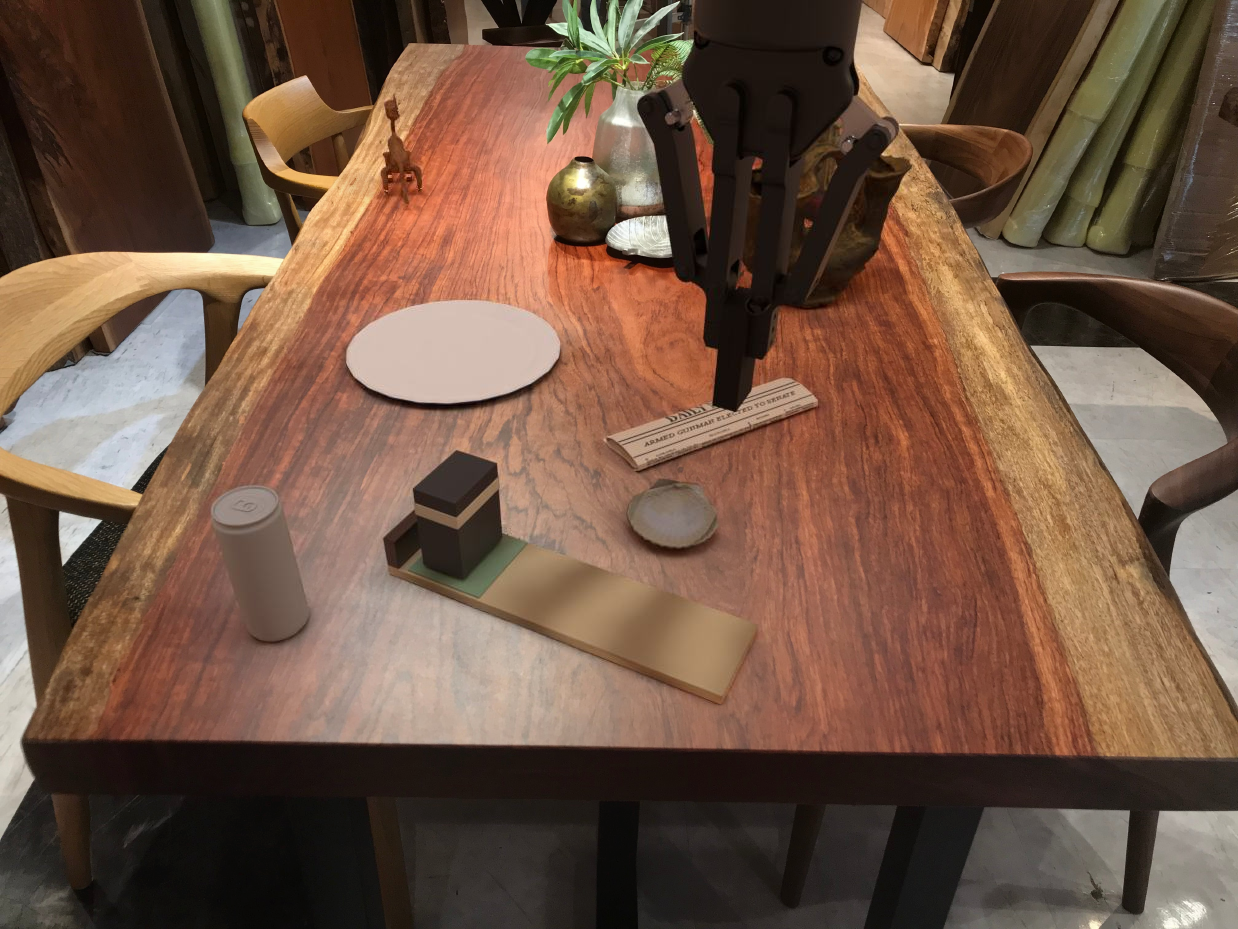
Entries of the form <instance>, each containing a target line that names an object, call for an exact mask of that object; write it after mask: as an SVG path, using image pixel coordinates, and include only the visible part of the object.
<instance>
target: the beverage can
mask: <svg viewBox="0 0 1238 929" xmlns="http://www.w3.org/2000/svg"><path fill="white" fill-rule="evenodd" d="M210 515H211V525H212V528H213V531H214V535H215V538H216V540H217V544H218V547H219V550H220V553H221V557H222V559H223V560H222V561H223V563H224V565H225V569H226V572H227V574H228V578H229V580H230V583H231V587H232V590H233V592H234V596H235V599H236V601H237V604H238V608H239V610H240V613H241V617H242V619H243V622H244V624H245V628H246V629H247V632H248V633H249V634H250V635H251V636H252V637H254V638H256V639H257V640H258V641H259V640H260V641H264V642H279V641H280V642H281V641H283V640H284V641H285V640H287V639H289V638H291V637H293V636H294V635H296V634H297V633H298V632H300V631H301V629H303V628H304V626H305V625H306V623H307V622H308V619H309V615H310V609H309V608H310V607H309V603H308V601H307V600H308V599H307V596H306V592H305V588H304V585H303V581H302V577H301V572H300V569H299V568H300V567H299V565H298V564H299V563H298V561H297V558H296V553H295V549H294V546H293V542H292V537H291V534H290V529H289V526H288V521H287V518H286V514H285V510H284V506H283V503H282V501H281V500H280V498H279V496H278V494H277V492H276V491H275V490H273V489H272V488H270V487H267V486H265V485H257V484H255V485H254V484H252V485H250V484H249V485H244V486H238V487H235V488H232V489H230V490H228V491H225V492H224V493H222V494H221V495H220V496H219V497H217V498H216V499H215V501H214V502H213V504H212V505H211V508H210Z"/></svg>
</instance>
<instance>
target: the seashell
mask: <svg viewBox="0 0 1238 929" xmlns="http://www.w3.org/2000/svg"><path fill="white" fill-rule="evenodd" d="M626 517H627V518H626V519H627V521H628V523H629V525H630V527H631V528H632V529H633V531H634V532H635V533H637V535H638V537H640V538H643V540H644V541H646V542H651V544H652V545H659V547H661V548H665V547H666V548H668V549H674V548H675V549H677V550H681V549H682V548H683V549H689V548H691V547H697V546H698V545H700V544H703V543H705V542H706V541H707V540H709V539H710V538H711V536H712V535H714V534H715V531H716V530H717V529H718V525H719V517H718V512H717V510H716V509H715V507H714V505H713V504H712V503H711V502H710V501H709V499H708V496H707V495H706V493H705V491H704V488H703V487H702V485H701V484H700V483H696V482H689V481H677V480H675V479H669V478H663V477H658V478H657V479H656V481H655V482H654V483H653V486H652V487H649V488H648V489H646V490H644V491H641V492H640V493H638V494H636V495H634V496H633V498H632V499H630V500H629V502H628V504H627V508H626Z"/></svg>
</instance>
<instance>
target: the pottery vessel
mask: <svg viewBox="0 0 1238 929" xmlns="http://www.w3.org/2000/svg"><path fill="white" fill-rule="evenodd" d="M844 156H845V155H844V154H843V153H842V152H841V150H840V149H839V148H838V146H836V145H835V144H832V143H830V142H825V143H817V144H815V145H814V146H813V147H812V148H811V149H810V150H808V151H807V152H806V156H805V162H804V166H803V169H802V171H801V175H800V181H799V188H798V195H797V202H796V209H795V216H794V224H793V231H792V238H791V245H790V252H789V259H788V267H787V274H791V273H792V271H793V268H794V266H795V264H796V261H797V259H798V256H799V254H800V252H801V249H802V247H803V244H804V242H805V240H806V237H807V235H808V232H809V230H810V228H811V226H806V224H805V220H806V219H807V218H806V214H807V210H808V205H809V202H810V201H811V200H812V198H813V196H814V195H815V194H816V193H817V192H818V191H819V188H820V185H819V183H818V181H817V175H818V172H819V171H820V170H821V169H822V167H823V165H824V162H825V160H826V159H827V158H830V157H833V158H834V159H835V163H836V167H837V166H838V164H839V163H840V161H841V160H842V159H843V158H844ZM910 161H911V160H910V159H908V158H905V156H902V157H900V156H897V157H896V156H893V154H889V155H883V154H881V155H880V156H879V157H878V158H877V159H876V161H875V162H874V163H873V164H872V165H871V166H870V167H869V169H868V171H867V174H866V176H865V178H864V180H863V183H862V185H861V187H860V189H859V192H858V194H857V196H856V199H855V201H854V203H853V205H852V208H851V210H850V212H849V214H848V217H847V219H846V221H845V223H844V226H843V228H842V230H841V232H840V235H839V237H838V239H837V241H836V244H835V246H834V248H833V250H832V253H831V255H830V257H829V259H828V262H827V264H826V266H825V268H824V271H823V273H822V275H821V277H820V280H819V282H818V284H817V285H816V287H815V288H814V290H813V291H812V292H811V294H810V295H809V296H808V298H807V299H806V300H805V301H804V303H803V304H802V305H800V306H799V307H801V308H803V309H809V308H815V307H819V306H820V305H822V306H824V305H831V304H832V305H833V304H834V303H835V301H836V300H837V298H838V297H839V296H840V295H841V294H842V293H843V292H845V291H846V290H847V288H848V287H849V284H850V283H851V281H852V280H854V278H855V277H856V276H858V275H860V274H861V273H862V272H863V271H864V270H866V267H865V264H867V263H869V261H870V260H872V258H874V256H875V255H876V253H877V252H878V251H879V249H880V247H879V246H880V243H881V241H882V239H881V238H882V234H883V230H884V226H885V223H886V221H887V217H888V213H889V207H890V203H891V202H892V200H893V199H894V197H895V196H896V194H897V192H898V191H899V188H900V186H901V183H902V181H903V179H904V178H905V176H906V174H908V172H910V171H911V170H912V169H913V164H911V163H910ZM761 168H762V164H761V166H759V167H753V168H752V176H751V185H750V194H749V203H748V212H747V221H746V229H745V238H744V247H743V256H742V264H743V265H744V267H745V269H746V272H748V273H750V274H751V275H752V272H753V263H754V255H755V246H756V237H757V229H758V220H759V211H760V203H761V194H762V182H761Z"/></svg>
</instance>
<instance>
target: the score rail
mask: <svg viewBox="0 0 1238 929" xmlns="http://www.w3.org/2000/svg"><path fill="white" fill-rule="evenodd" d="M382 542H383V547H384V553H385V558H386V564H387V570H388V573H389V574H390V575H392V576H394V577H397V578H399V579H402V580H404V581H406V582H410V583H412V584H415V585H417V586H420V587H422V588H425V589H427V590H430V591H433V592H435V593H437V594H439V595H442V596H445V597H447V598H450V599H453V600H456V601H458V602H460V603H463V604H465V605H468V606H470V607H473V608H475V609H478V610H480V611H483V612H485V613H488V614H490V615H493V616H496V617H498V618H501V619H503V620H505V621H508V622H511V623H512V624H513V623H514V624H515V625H518V626H520V627H523V628H526V629H528V630H531V631H533V632H536V633H539V634H541V635H543V636H545V637H548V638H551V639H554V640H556V641H559V642H562V643H564V644H566V645H568V646H572V647H574V648H576V649H578V650H582V651H584V652H586V653H589V654H592V655H593V656H597V657H599V658H602V659H605V660H606V661H609V662H612V663H615V664H617V665H619V666H622V667H625V668H627V669H630V670H632V671H635V672H638V673H640V674H643V675H645V676H647V677H650V678H652V679H654V680H657V681H659V682H662V683H665V684H667V685H670V686H672V687H675V688H677V689H680V690H683V691H686V692H687V693H691V694H692V695H695V696H698V697H701V698H704V699H706V700H708V701H710V702H713V703H716V704H718V705H722V704H723V702H724V700H725V699H726V696H727V694H728V692H729V690H730V688H731V686H732V684H733V682H734V680H735V678H736V677H737V674H738V672H739V670H740V669H741V666H742V665H743V662H744V660H745V658H746V657H747V654H748V652H749V650H750V648H751V646H752V644H753V642H754V640H755V638H756V636H757V634H758V629H759V624H758V623H755V622H752V621H749V620H747V619H744V618H741V617H738V616H736V615H732V614H731V613H727V612H724V611H722V610H718V609H716V608H713V607H711V606H707V605H705V604H703V603H700V602H696V601H693V600H691V599H687V598H686V597H683V596H679V595H676V594H673V593H671V592H669V591H665V590H663V589H660V588H657V587H655V586H652V585H648V584H646V583H643V582H640V581H637V580H634V579H632V578H629V577H626V576H624V575H620V574H618V573H615V572H612V571H609V570H607V569H604V568H601V567H599V566H595V565H593V564H591V563H590V564H589V563H588V562H584V561H581V560H579V559H575V558H573V557H570V556H568V555H564V554H562V553H559V552H556V551H553V550H550V549H548V548H545V547H542V546H539V545H536V544H534V543H531V542H528V541H527V540H523V539H520V538H519V537H514V536H512V535H510V534H507V533H503V532H502V539H501V540H500V541H499V542H498V543H497V544H496V545H495V546H494V547H493V548H492V549H491V550H490V551H489V553H488V554H487V555H486V556H485V557H484V558H483V559H482V560H481V561H480V562H479V563H478V564H477V566H476V567H475V568H474V569H473V570H472V571H471V572H470V573H469V574H468V575H467V576H466V577H465V578H464V580H462V579H460V578H457V577H455V576H452V575H449V574H447V573H444V572H442V571H439V570H436V569H434V568H431V567H429V566H426V565H424V564H423V558H422V551H421V544H420V537H419V530H418V523H417V516H416V514H415V508H414V509H413V510H412V511H411V512H409V514H407V515H406V516H405V517H404V518H403V519H402V520H401V521H399V523H398V524H397V525H395V526H394V527H393V528H392V529H391V530H390V531H389V532H388V533H386V534H385V535H384V536H383V537H382Z"/></svg>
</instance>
